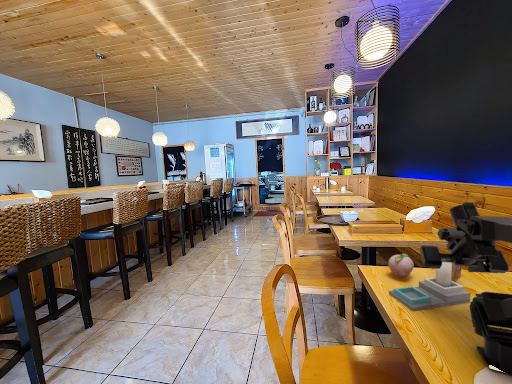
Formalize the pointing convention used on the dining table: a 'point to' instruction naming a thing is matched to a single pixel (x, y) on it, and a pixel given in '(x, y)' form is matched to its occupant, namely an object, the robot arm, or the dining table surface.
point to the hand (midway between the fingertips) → (450, 268)
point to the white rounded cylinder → (444, 275)
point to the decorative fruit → (401, 265)
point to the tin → (455, 272)
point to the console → (430, 295)
